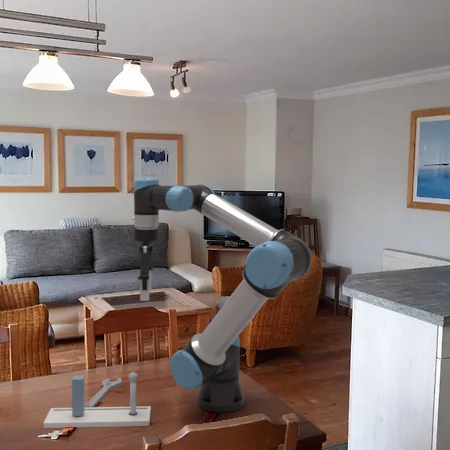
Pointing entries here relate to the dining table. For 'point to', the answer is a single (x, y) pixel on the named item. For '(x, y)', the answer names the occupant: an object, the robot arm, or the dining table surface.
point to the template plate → (102, 414)
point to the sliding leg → (78, 396)
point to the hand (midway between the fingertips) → (145, 295)
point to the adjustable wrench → (103, 391)
